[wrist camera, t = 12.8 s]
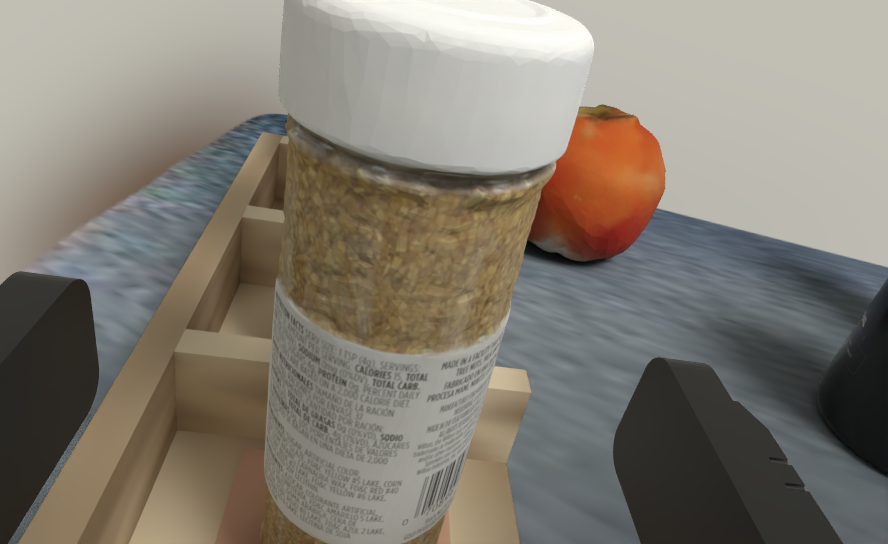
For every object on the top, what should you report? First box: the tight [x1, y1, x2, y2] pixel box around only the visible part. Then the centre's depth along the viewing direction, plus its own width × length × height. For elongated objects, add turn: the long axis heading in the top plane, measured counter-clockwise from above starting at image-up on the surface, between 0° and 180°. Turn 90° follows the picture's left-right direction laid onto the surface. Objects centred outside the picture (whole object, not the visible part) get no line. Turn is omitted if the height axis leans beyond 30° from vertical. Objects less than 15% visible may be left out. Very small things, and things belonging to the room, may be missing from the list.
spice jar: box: [258, 0, 594, 544], centre depth 12 cm, size 5×5×13 cm
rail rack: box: [18, 132, 531, 544], centre depth 20 cm, size 11×25×13 cm, turn 3°
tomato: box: [527, 105, 665, 261], centre depth 35 cm, size 9×9×8 cm
